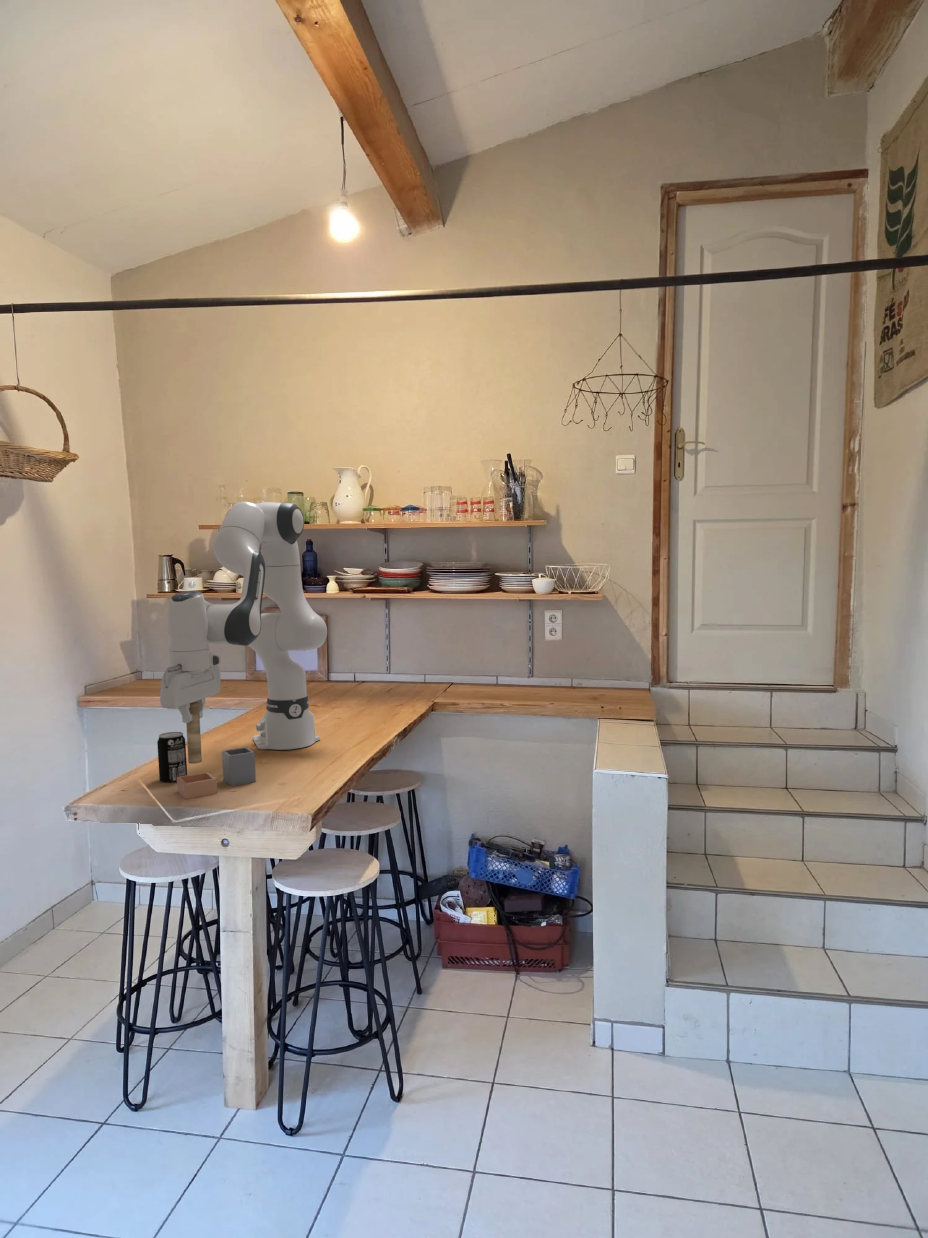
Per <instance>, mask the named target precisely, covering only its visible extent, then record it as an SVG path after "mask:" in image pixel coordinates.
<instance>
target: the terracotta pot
mask: <svg viewBox="0 0 928 1238" xmlns="http://www.w3.org/2000/svg"><path fill="white" fill-rule="evenodd" d="M176 789H177V790H176V791H177V793H178V794H179V795H180V796H181V798H183V799H184V800H188V799H193V798H199V797H204V796H208V795H209V796H210V795H216V794H218V781H217V778H216V776H214V775H213V774H211V773H210V771H205V772H204V771H203V772H199V773H194V774H187V775H186V776H180V777H177V782H176Z"/></svg>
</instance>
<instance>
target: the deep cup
mask: <svg viewBox="0 0 928 1238" xmlns="http://www.w3.org/2000/svg"><path fill="white" fill-rule="evenodd" d="M221 757H222V760H221V761H222V776H223V779H222V780H223V781H224V783H226V784H227V785H228V786H230V787H234V786H239V785H246V784H251V783H255V782H257V779H256V757H255V751H253V750H252V749H251V748H249V747H248V746H244V747H238V748H231V749H226V750H222V751H221Z"/></svg>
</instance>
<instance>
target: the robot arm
mask: <svg viewBox="0 0 928 1238" xmlns="http://www.w3.org/2000/svg"><path fill="white" fill-rule="evenodd" d="M304 519H305V518H304V514H303V511H302V510H301V508H300V506H298V505H297V504H296V503H293V502H286V501H284V502H277V501H276V502H275V501H262V502H260V503H259V502H258V503H257V502H256V503H254V502H250V501H238V502H236V503H235V504H233V505H232V506H231V507H230V509H229V510H228V511H227V512H226V515H225V516H224V518H223V520H222V523H221V524H220V527H219V529H218V532H217V534H216V537H215V540H214V543H213V553H214V557H215V559H216V560H217V562H218V564H220V565H221V566H222V568H224V569H226V570H227V571H230V572H231V573H233V574H237V575H240V576H242V577H243V579H242V580H243V581H242V587H241V593H240V594H241V595H240V599H239V600H238V601H237V602H235V603H229V604H227V603H225V604H221V603H220V604H216V603H211V602H209V601H207V600H205V596H204V594H203V593H202V592H201V591H200V592H199V591H184V592H178V593H176V594H174V595H172V596H171V597H170V598H169V602H168V605H167V606H168V609H167V632H168V636H169V639H170V642H169V647H168V658H169V666H168V667H167V668H166V670H165V671H164V673H163V675H162V677H161V680H160V690H159V691H160V692H159V695H160V696H159V701H160V705H161V707H162V708H163V709H177V708H178V710H179V712H180V715H181V719H182V723H184V724H186V723H189V722H191V721H193V718H192V717H193V715H192V714H190V711H189V708H190V703H192V702H199V715H200V719H202V718H203V716H204V711H203V710H204V709H205V708H204V707H205V705H206V698H210V697H212V696H215V695H219V692H220V690H221V684H222V683H221V682H222V681H221V670H220V666H219V665H220V664H221V663H222V662H221V656H220V655H217V654H215V653H212V652H210V646H209V644H213V645H230V644H231V645H234V646H242V647H243V646H244V647H245V646H248V647H249V648H251V649H252V650H253V651H254V653H256V655H257V656H258V657H259V658H260V661H261V663H262V665H263V667H264V670H265V675H266V683H267V693H268V695H267V696H268V698H266V699H267V700H266V708H265V709H266V712H265V713H264V715H263V716H262V718H261V719H260V722H258V723H256V725H255V726H256V727H255V728H256V729H255V730H256V732H260V733H258V734H255V735H252V740H253V742H254V744H255V745H256V748H257V749H258V750H278V751H279V750H280V751H281V750H284V751H285V750H297V749H302V748H305V747H309V746H312V745H314V744H315V743H316V742H318V741H320V740H321V736H320V735H318V734H316V727H315V725H316V724H315V717H314V716H315V715H314V712H313V713H312V711H310V709H309V708H310V704H309V703H310V700H309V695H308V694H307V692H308V691H307V673H306V671H305V668H304V667H303V666H302V665H300V664H299V663H298V662H296V661H294V659H293V658H292V657H291V655H290V653H289V651H299V652H300V651H301V652H302V651H303V652H304V651H310V650H315V649H319V648H321V647H322V646H323V645H324V643H325V641H326V640H327V637H328V627H327V624H326V622H325V620H324V618H322V616H321V615H320V614H318V613H316V612H315V610H313V609H312V607H311V605H310V603H308V600H307V599H306V595H305V594H304V588H303V581H302V572H301V570H302V569H301V558H300V551H299V550H300V549H299V545H298V539H299V538H300V537H301V535H302V533H303V531H304V527H305V526H304V525H305V520H304ZM260 546H261V550H260ZM259 551H260V552H261V553H260V552H259ZM264 595H265V596H266V598H268V599H270V600H272V601H273V602H274V603H276V604H277V606H278V608H279V610H280V612H264V613H262V605H263V598H264V597H263V596H264Z"/></svg>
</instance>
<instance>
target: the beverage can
mask: <svg viewBox="0 0 928 1238" xmlns="http://www.w3.org/2000/svg"><path fill="white" fill-rule="evenodd" d="M186 745H187V743H186V738H185V736H184V733H183V732H181V731H168V732H164V733H160V734H158V739H157V759H158V760H157V761H158V774H159V775H158V776H159V777H158V779H159V782H161V783H170V784H172V783H177V777H180V776H186V775H188V767H187V766H188V765H187V747H186Z"/></svg>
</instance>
